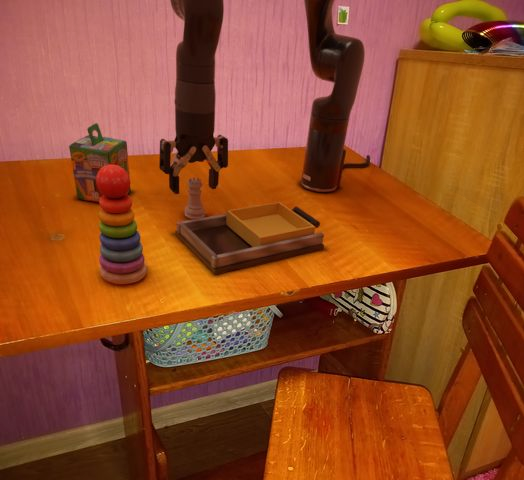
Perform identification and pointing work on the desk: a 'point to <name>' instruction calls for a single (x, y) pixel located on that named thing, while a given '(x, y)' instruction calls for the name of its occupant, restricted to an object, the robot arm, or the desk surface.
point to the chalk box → (95, 161)
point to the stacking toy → (118, 229)
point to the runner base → (237, 245)
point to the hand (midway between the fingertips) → (194, 190)
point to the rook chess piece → (194, 200)
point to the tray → (270, 223)
